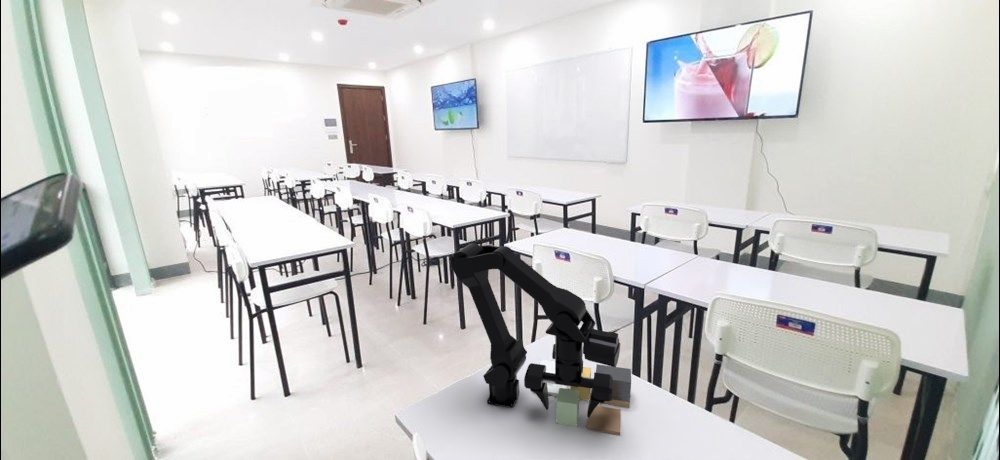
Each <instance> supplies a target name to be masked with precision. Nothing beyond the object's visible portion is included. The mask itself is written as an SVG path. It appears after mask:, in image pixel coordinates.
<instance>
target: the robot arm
mask: <svg viewBox="0 0 1000 460" xmlns="http://www.w3.org/2000/svg"><path fill="white" fill-rule="evenodd" d="M449 263H450V267H451V269H452V271H453V272H454V275H455V276H456V278H457V279H458V281H459V282H460V283H462V284H463V285H464V286H465V287H467V288H468V290H469V292H470V295H471V298H472V301H473V303H474V305H475V308H476V310H477V313H478V315H479V318H480V320H481V322H482V325H483V328H484V330H485V332H486V336H487V338H488V340H489V343H490V357H489V359H490V364H491V366H490V367H489V368H488V370H486V372H485V373H484V374H483V378H484V379H483V380H484V382H485V384H487V385H488V394H489V395H488V396H489V397H488V398H487V404H488V405H489V404H490V405H495V406H501V407H506V408H514V406H515V404H516V401H518V399H519V397H520V380H519V379H518V376H517V375H518V373H519V372H520V371H521V369H522V367H523V366H524V364H525V362H526V361H527V353H528V351H527V350H526V348H525V346H524V342H523V340H522V338H518V339H517V338H515V337H514V336H513V335H511V334H510V333H511V332H509V331H510V330H509V329H508V326H507V323H506V321H505V318H504V317H503V313H502V311H501V309H500V306H499V304H498V301H497V298H496V297H495V293H494V291H493V287H492V286H491V283H490V280H489V272H490V271H489V270H498V271H499V272H501V273H502V274H503V275H504V276H505V277H507V278H508V279H509V280H510V281H512V282H513V283H514V284H515V285H516V286H518V287H519V288H520V289H522V291H524V292H525V293H526V294H527V295H529V297H531V298H532V299H533V300H534V301H536V302H537V303H538V304H539V305H540V307H541V308H542V310H543V313H544V315H545V316H546V317H547V318H548V320H549V321H550V322H551V323H550V324H549V326H548V327H547V329H546V330H545V334H547V335H551V336H554V337H555V340H554V341H555V343H554V344H552V354H551V355H552V356H551V357H552V359H553V360H554V361H555V374H554V373H547V372H546V365H540V364H539V363H529V364H528V366H527V368H526V371H525V374H524V379H523V383H524V387H525V389H529V390H530V392H531V393H533V392H535V393H534V394H535V395H536V396H537V398H538V399H539V400H540V401H541V404H542V406H543V407H544V409H545V410H546V411H549V405H550V399H549V395H548V389H547V383H551V384H557V385H564V386H567V387H569V388H570V387H572V386H573V387H585V388H590V396H589V400H588V405H587V412H586V413H587V415H586V416H587V418H588V417H590V415H591V414H592V412H593V410H594V409H595V408H596V407H597V406H599V404H604V403H605V401H611V400H612V376H611V375H610V374H603V373H596V371H594V373H593V377H591V378H588V377H582V373H583V367H584V360H583V355H584V359H585V360H587V361H589V362H593V363H596V364H599V365H606V366H612V367H618V366H617V365H618V363H619V359H620V351H621V342H620V338H619V333H618V332H614V331H605V330H601V329H595V326H596V321H595V320H594V318H593V317H592V316H591V314H590V313H589V311H588V310H587V306H586V302H585V301H584V300H583V298H582V297H580V296H578V295H576V294H575V293H574V292H571V291H570V290H568V289H565V288H562V287H558V286H556V285H554V284H552V283H551V282H550V281H549V280H547V278H545V277H544V276H542V275H541V274H540V273H539V272H537V271H536V269H534V268H533V267H531V266H530V265H529V264H528V263H526V262H525V261H524V259H522V258H520V257H519V256H518V255H517V254H515V253H514V252H513V250H512V249H511V247H509V246H507V245H502V246H501V245H500V246H496V245H492V244H490V245H489V244H488V245H487V244H486V245H480V244H478V243H469V244H467V245H466V246H464V247H463V248H461V249H460V250H457V251H456V252H454V253H453V254H452V255H451V259H450V260H449ZM581 322H582V325H581V326H580V328H579V325H580V323H581Z"/></svg>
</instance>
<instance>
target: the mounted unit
mask: <svg viewBox="0 0 1000 460" xmlns="http://www.w3.org/2000/svg"><path fill="white" fill-rule="evenodd" d="M595 372H596V373H603V374H610V375H611V376H612V400H611V401H605V403H603V404H605V405H611V406H618V407H625V408H630V407H631V406H630V404H631V392H632V391H631V389H632V369H631V368H627V367H620V366H619V367H618V366H616V367H612V366H608V365H604V364H600V363H596V367H595Z"/></svg>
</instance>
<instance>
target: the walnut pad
mask: <svg viewBox="0 0 1000 460" xmlns="http://www.w3.org/2000/svg"><path fill="white" fill-rule="evenodd" d="M621 412H622V411H621V409H620V408H616V407H615V408H614V407H608V406H602V405H598V406H597V407H596V408H595V409H594V410H593V412H592V414H591V415H590V417H587V423H586V430H589V431H594V432H600V433H604V434H611V435H616V436H621V426H622V425H621V422H622V421H621V415H622V414H621Z"/></svg>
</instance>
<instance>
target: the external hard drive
mask: <svg viewBox="0 0 1000 460" xmlns="http://www.w3.org/2000/svg"><path fill="white" fill-rule="evenodd" d="M538 364H540V365H546V372H547V373H554V374H555V360H554V361H553V360H546V359H545V360H544V359H540V360H539V361H538ZM559 388H564V389H568V386H564V385H557V384H551V383H547V389H548V396H552V397H558V392H559ZM532 394H535V392H532Z"/></svg>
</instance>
